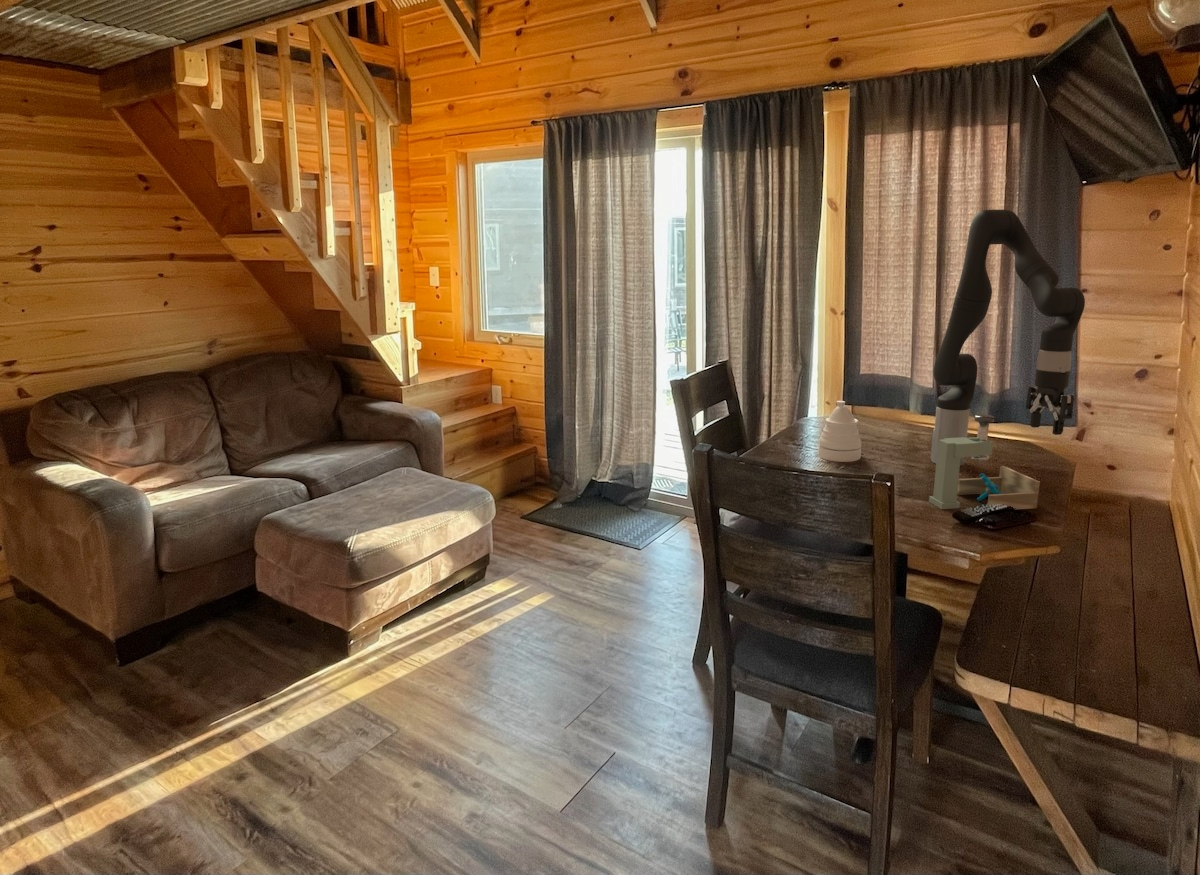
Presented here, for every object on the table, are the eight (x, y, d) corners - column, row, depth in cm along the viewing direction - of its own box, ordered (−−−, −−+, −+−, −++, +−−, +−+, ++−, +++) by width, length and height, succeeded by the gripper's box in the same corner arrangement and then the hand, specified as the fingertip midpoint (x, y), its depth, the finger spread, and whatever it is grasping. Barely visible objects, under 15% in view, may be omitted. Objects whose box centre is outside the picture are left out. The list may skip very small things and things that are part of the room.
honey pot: (853, 463, 245) (857, 406, 240) (812, 458, 252) (815, 401, 247) (865, 454, 255) (869, 398, 251) (825, 449, 262) (828, 394, 258)
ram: (966, 456, 207) (971, 414, 205) (982, 456, 208) (987, 413, 205) (977, 461, 203) (981, 418, 200) (993, 460, 204) (997, 417, 201)
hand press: (928, 501, 210) (934, 438, 206) (973, 498, 212) (980, 436, 207) (941, 509, 204) (947, 444, 200) (987, 506, 206) (994, 442, 202)
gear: (1011, 504, 202) (983, 473, 204) (991, 518, 204) (964, 488, 206) (1010, 497, 212) (983, 468, 214) (991, 511, 214) (965, 482, 216)
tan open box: (956, 493, 215) (959, 468, 213) (1001, 490, 217) (1004, 465, 215) (989, 511, 201) (992, 484, 200) (1036, 508, 203) (1040, 481, 201)
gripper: (1021, 364, 209) (1014, 425, 213) (1059, 372, 195) (1051, 437, 199) (1047, 363, 210) (1040, 424, 214) (1087, 371, 196) (1079, 436, 200)
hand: (1045, 430), depth 206 cm, fingers open, 8 cm apart
